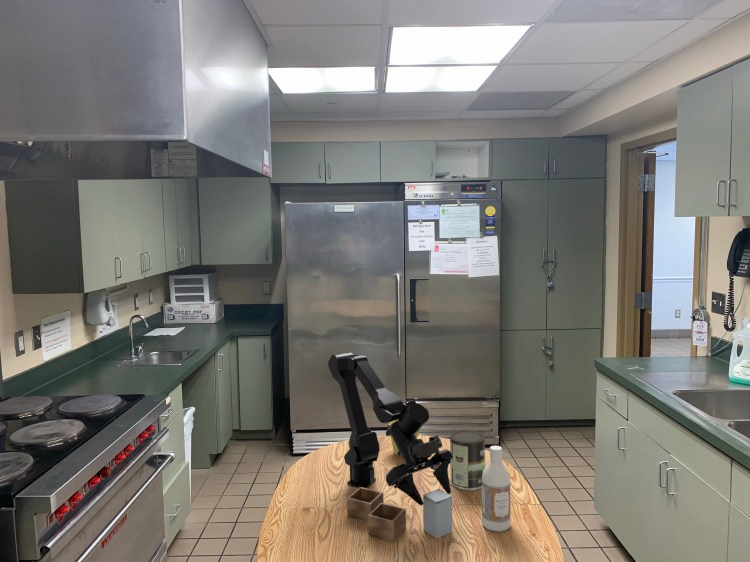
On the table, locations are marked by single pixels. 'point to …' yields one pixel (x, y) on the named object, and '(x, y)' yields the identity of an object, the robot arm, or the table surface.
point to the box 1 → (363, 503)
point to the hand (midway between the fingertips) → (436, 499)
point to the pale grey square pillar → (437, 513)
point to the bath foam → (496, 493)
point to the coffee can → (467, 459)
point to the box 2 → (387, 522)
